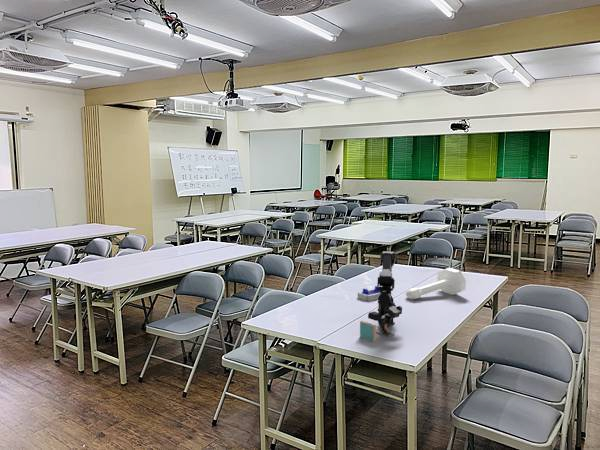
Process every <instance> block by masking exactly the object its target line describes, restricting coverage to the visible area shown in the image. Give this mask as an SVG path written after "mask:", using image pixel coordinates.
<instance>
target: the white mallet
mask: <svg viewBox="0 0 600 450" xmlns="http://www.w3.org/2000/svg"><path fill="white" fill-rule="evenodd" d="M436 275H437V278H436V280H437V281H435V282H433V283H429V284H426V285H423V286H420V287H413V288H409V289H407V290H406V292H405V296H406V297H407V299H409V300H416V299H419V298H421V297H422V296H423V295H427V294H430V293H434V292H436V291H439V290H441V291H442V292H444V293H445V294H449V295H451V296H455V295H457V294H459V293H462V292H463V291H467V290H466V285H467V283H466V281H467V280H466V277H464V274H463V273H462V271H461V270H458V269H456V268H454V267H453V268H452V267H447V268H445V269H443V270H441V271H439V272H438V273H436Z"/></svg>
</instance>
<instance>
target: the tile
mask: <svg viewBox="0 0 600 450" xmlns="http://www.w3.org/2000/svg"><path fill="white" fill-rule="evenodd" d="M359 321H360V322H359V329H360V330H359V337H360V338H363V340H364V339H365V340H367V341H370V342H372V343H375V342H376V338H377V337H376V335H377V333H376V331H377V329H376V328H377V325H376V324H373V323H369V322H368V321H364V320H359Z"/></svg>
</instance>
